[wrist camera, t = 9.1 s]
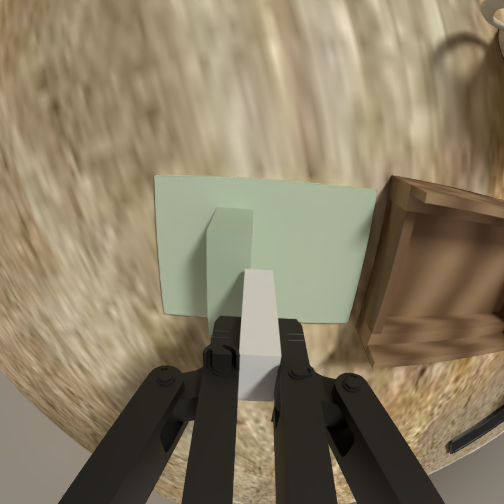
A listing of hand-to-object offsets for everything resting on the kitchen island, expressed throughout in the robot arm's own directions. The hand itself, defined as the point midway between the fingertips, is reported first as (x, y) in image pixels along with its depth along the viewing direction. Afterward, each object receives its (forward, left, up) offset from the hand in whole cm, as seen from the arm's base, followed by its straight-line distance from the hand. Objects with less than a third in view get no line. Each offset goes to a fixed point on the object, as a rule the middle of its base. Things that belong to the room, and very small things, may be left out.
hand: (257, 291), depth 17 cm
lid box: (+18, 0, -5) cm, 19 cm away
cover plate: (0, 0, -6) cm, 6 cm away
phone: (+45, -33, -6) cm, 56 cm away
